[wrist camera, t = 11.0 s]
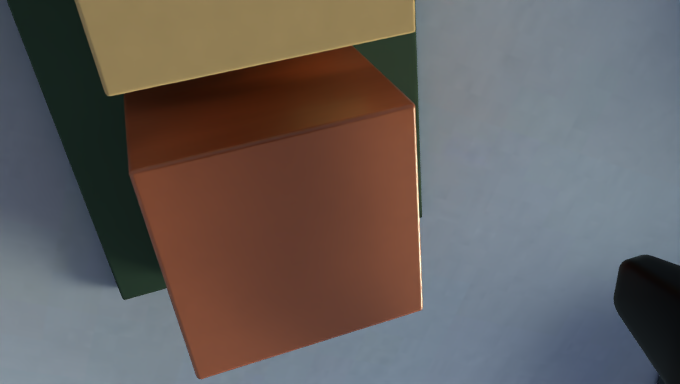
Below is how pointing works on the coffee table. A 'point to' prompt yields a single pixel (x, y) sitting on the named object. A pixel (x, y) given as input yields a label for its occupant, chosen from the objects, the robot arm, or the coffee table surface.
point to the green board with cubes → (179, 80)
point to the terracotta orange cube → (279, 203)
